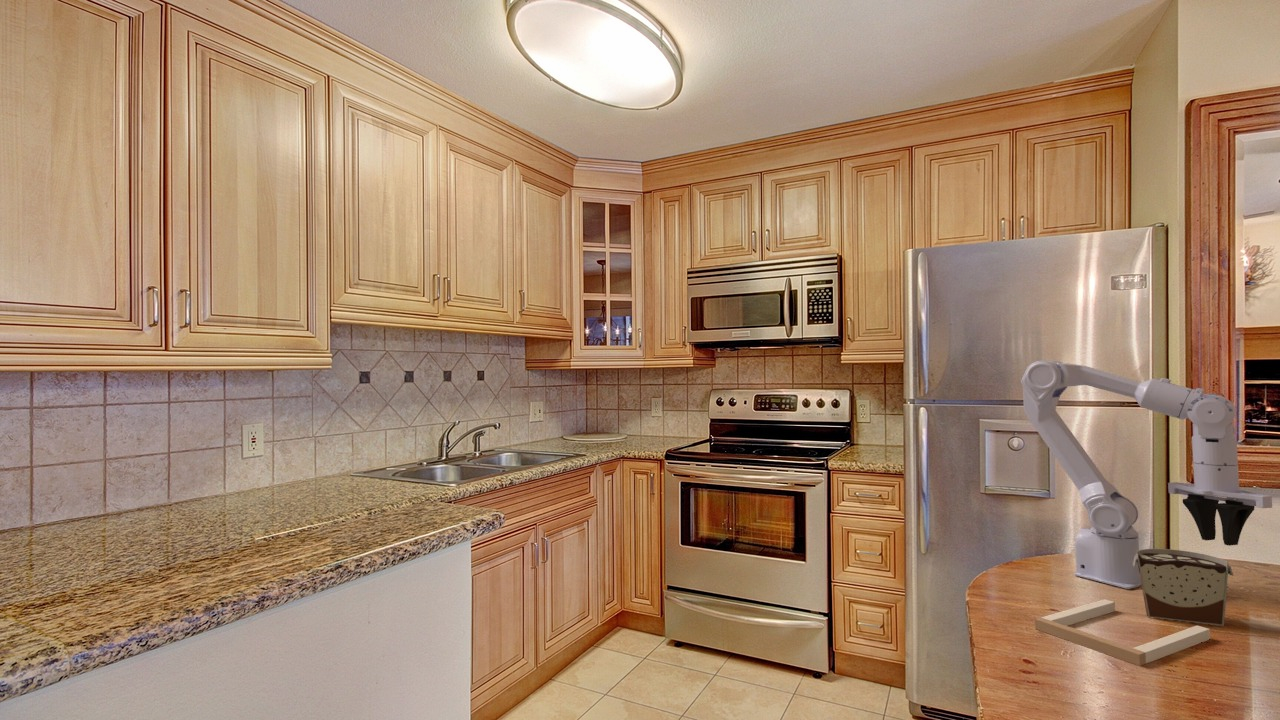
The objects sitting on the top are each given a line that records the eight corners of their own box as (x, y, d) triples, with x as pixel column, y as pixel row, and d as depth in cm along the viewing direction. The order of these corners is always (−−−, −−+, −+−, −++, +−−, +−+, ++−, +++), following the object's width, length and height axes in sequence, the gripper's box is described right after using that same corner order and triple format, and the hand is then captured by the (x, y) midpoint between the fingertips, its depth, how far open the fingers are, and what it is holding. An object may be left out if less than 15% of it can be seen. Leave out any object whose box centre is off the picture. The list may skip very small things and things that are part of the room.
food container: (1218, 613, 99) (1215, 551, 100) (1236, 627, 94) (1232, 562, 94) (1125, 603, 104) (1122, 544, 105) (1136, 616, 99) (1133, 554, 99)
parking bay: (1035, 628, 95) (1034, 619, 95) (1105, 608, 102) (1104, 599, 103) (1139, 665, 82) (1139, 654, 82) (1210, 639, 90) (1209, 628, 90)
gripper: (1153, 459, 112) (1157, 533, 112) (1247, 470, 98) (1252, 555, 98) (1183, 457, 114) (1187, 531, 113) (1279, 468, 100) (1284, 551, 99)
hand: (1219, 542), depth 105 cm, fingers open, 3 cm apart
